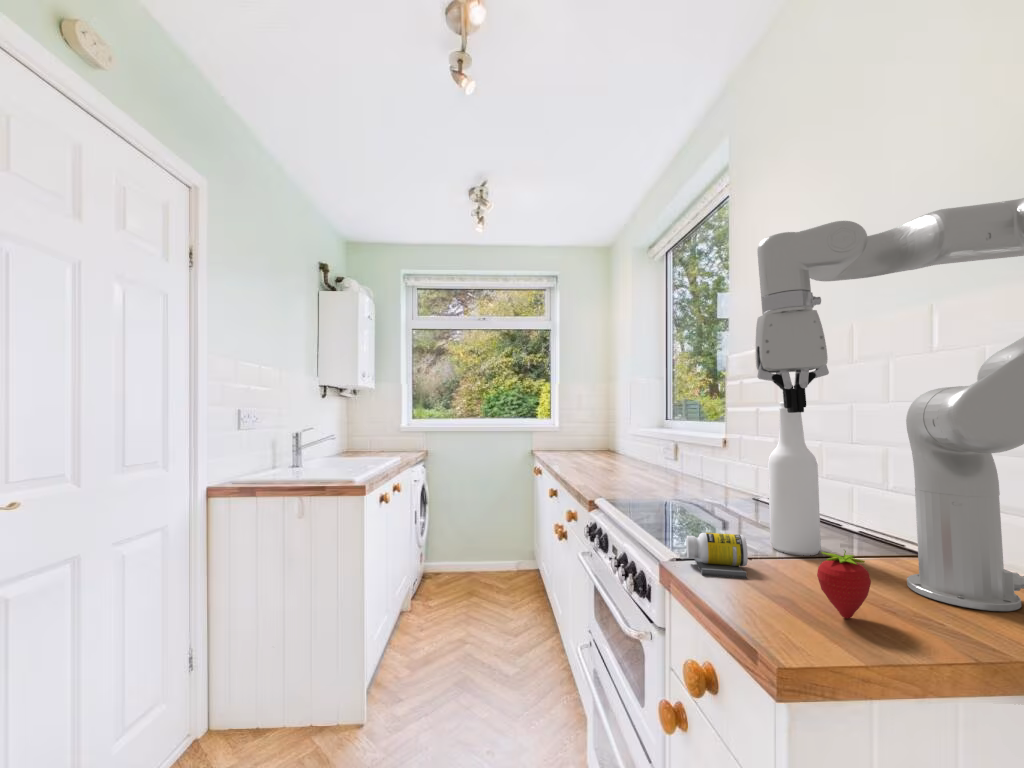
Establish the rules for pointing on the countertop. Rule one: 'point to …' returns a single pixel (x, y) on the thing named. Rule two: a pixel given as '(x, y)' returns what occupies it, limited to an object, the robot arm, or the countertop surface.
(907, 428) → the robot arm
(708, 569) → the tray
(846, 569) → the strawberry
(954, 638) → the countertop surface
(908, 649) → the countertop surface
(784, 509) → the alcohol
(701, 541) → the supplement bottle
